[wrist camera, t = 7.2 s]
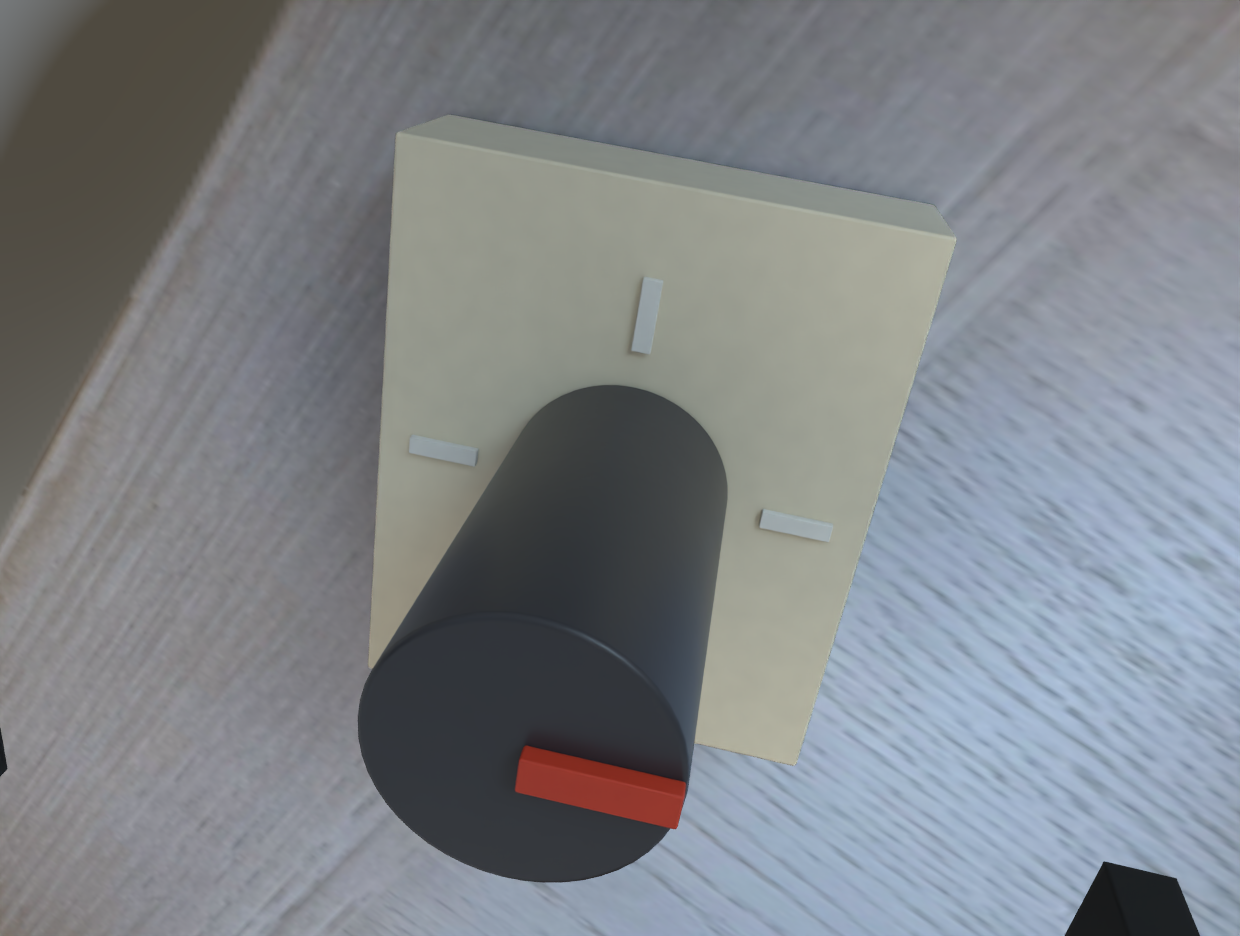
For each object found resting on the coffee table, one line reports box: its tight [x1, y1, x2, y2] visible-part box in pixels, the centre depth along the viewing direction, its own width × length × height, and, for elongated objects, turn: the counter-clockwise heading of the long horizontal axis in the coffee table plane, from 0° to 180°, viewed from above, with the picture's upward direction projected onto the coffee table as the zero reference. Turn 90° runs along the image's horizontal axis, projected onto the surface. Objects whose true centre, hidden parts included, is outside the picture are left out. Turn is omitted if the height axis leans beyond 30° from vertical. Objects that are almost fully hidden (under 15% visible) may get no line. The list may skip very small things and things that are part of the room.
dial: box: [358, 385, 728, 882], centre depth 16 cm, size 4×4×8 cm
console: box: [368, 115, 957, 766], centre depth 21 cm, size 12×10×3 cm
